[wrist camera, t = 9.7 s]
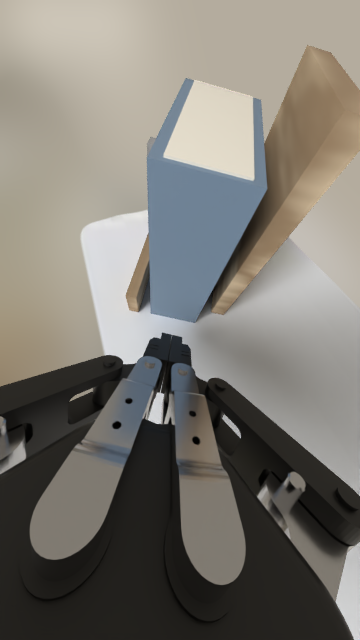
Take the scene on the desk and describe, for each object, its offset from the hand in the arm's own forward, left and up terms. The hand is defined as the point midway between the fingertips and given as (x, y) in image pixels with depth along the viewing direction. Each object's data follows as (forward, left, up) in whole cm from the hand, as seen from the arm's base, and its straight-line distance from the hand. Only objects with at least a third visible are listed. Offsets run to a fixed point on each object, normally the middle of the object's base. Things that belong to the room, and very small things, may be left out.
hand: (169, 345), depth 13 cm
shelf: (0, -10, -5) cm, 12 cm away
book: (0, -10, -5) cm, 11 cm away
